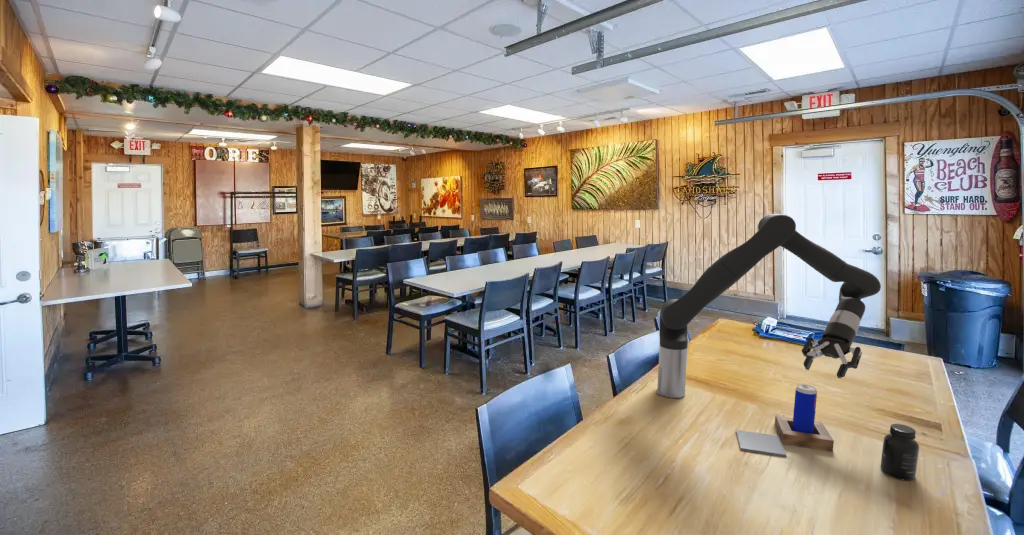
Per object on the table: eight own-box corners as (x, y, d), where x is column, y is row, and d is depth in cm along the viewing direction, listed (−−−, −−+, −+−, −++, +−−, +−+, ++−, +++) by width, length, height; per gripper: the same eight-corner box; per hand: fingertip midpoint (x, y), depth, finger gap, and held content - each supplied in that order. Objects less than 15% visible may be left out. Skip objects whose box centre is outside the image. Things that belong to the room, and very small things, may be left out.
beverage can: (815, 442, 133) (820, 391, 131) (795, 440, 134) (800, 390, 132) (808, 433, 138) (812, 384, 136) (789, 432, 139) (793, 383, 137)
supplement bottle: (873, 466, 121) (878, 421, 120) (898, 465, 122) (903, 420, 120) (897, 482, 114) (902, 435, 113) (923, 480, 115) (929, 433, 113)
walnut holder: (782, 443, 132) (783, 433, 132) (774, 424, 144) (775, 415, 143) (832, 451, 129) (833, 440, 128) (820, 431, 140) (821, 421, 139)
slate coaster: (740, 449, 129) (740, 447, 129) (736, 431, 139) (736, 429, 139) (786, 457, 126) (786, 454, 126) (778, 437, 136) (778, 435, 136)
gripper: (813, 316, 148) (793, 359, 143) (867, 326, 137) (847, 372, 132) (819, 330, 152) (799, 372, 147) (872, 341, 141) (853, 386, 136)
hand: (822, 372), depth 139 cm, fingers open, 8 cm apart
